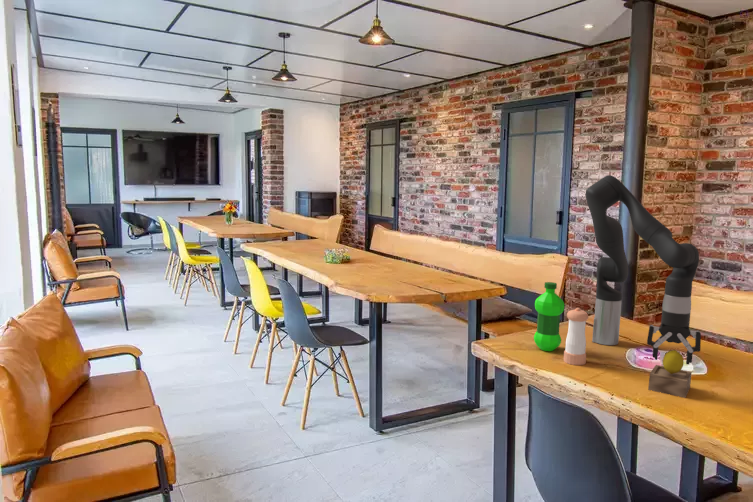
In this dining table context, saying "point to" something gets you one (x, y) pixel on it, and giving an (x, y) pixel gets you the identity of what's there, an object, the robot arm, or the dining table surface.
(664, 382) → the walnut box
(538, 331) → the plastic bottle
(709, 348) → the dining table surface
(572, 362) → the salt shaker
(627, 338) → the dining table surface
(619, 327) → the robot arm
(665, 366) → the lemon
